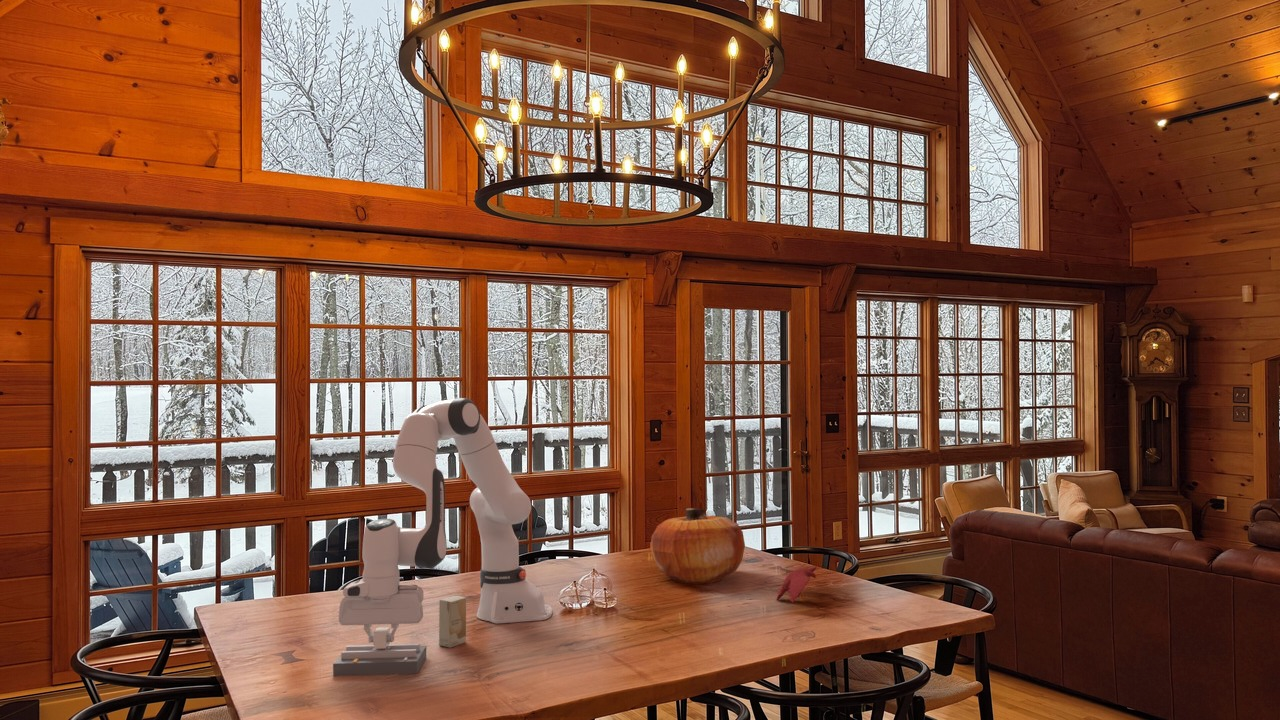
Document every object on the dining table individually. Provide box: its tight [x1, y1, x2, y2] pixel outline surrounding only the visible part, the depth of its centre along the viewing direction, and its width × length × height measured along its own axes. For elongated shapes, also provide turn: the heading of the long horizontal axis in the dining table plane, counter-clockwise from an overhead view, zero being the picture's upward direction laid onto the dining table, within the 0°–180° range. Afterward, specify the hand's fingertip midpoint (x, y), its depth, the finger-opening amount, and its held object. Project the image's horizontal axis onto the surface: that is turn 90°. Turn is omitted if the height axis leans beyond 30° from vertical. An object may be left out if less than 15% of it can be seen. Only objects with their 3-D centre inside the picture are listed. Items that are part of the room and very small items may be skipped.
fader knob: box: [372, 626, 391, 650], centre depth 215 cm, size 4×4×6 cm
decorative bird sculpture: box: [776, 566, 817, 603], centre depth 273 cm, size 28×9×15 cm
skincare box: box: [438, 595, 467, 648], centre depth 233 cm, size 6×4×12 cm
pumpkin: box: [650, 507, 746, 585], centre depth 305 cm, size 33×33×25 cm
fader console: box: [332, 643, 427, 677], centre depth 215 cm, size 20×12×5 cm, turn 93°
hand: (381, 641), depth 215 cm, fingers closed on fader knob, 3 cm apart
